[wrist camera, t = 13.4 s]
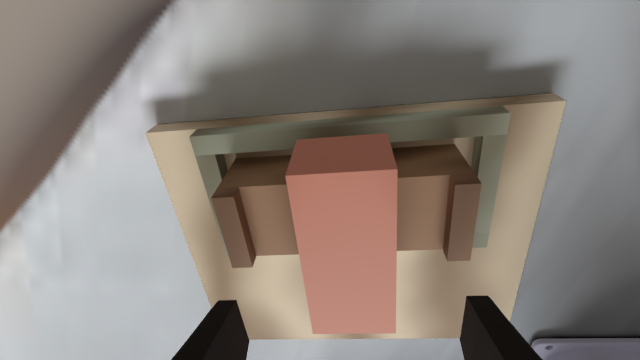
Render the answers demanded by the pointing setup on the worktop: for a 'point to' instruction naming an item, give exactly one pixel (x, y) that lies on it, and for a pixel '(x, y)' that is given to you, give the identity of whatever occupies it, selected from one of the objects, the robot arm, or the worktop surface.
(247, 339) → the robot arm
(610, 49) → the worktop surface
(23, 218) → the worktop surface
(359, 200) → the pink rectangular block
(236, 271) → the jig
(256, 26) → the worktop surface
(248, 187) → the brown u-shaped block
